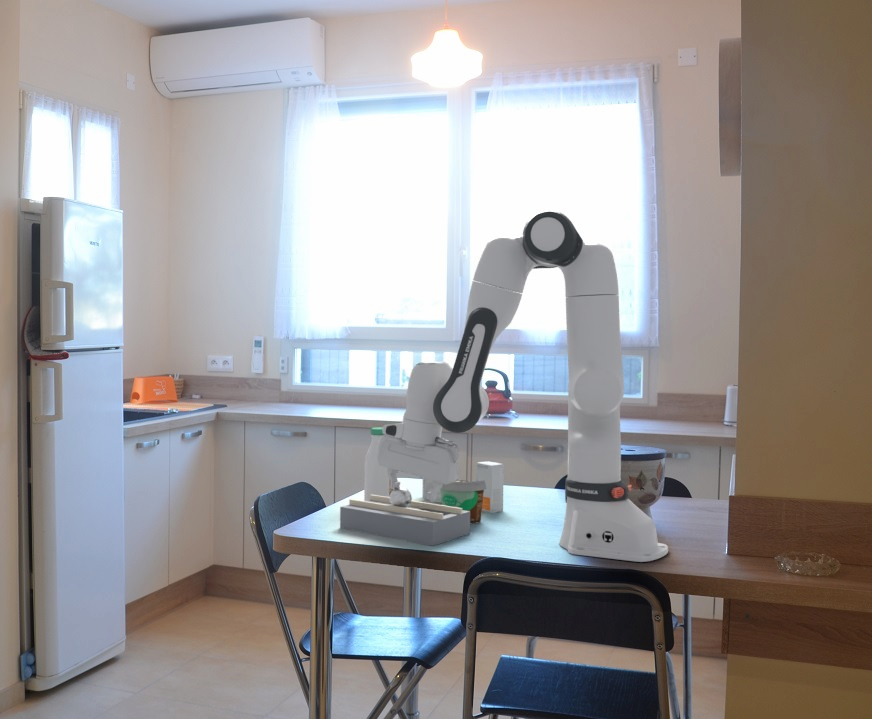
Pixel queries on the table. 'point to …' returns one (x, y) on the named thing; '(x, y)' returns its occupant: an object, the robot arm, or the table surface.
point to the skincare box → (491, 485)
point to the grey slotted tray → (406, 520)
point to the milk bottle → (375, 469)
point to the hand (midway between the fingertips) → (412, 494)
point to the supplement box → (429, 490)
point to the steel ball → (400, 497)
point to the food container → (465, 497)
